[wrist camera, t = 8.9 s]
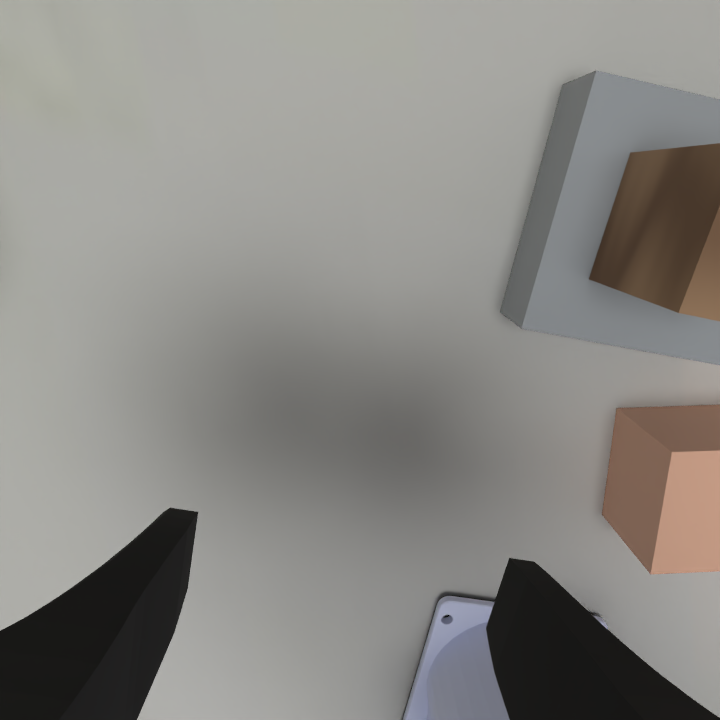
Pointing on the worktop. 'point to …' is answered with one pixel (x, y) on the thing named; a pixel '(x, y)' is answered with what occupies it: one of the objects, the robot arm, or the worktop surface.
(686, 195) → the walnut block
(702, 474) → the terracotta block
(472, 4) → the worktop surface
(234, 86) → the worktop surface
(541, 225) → the slate slab
